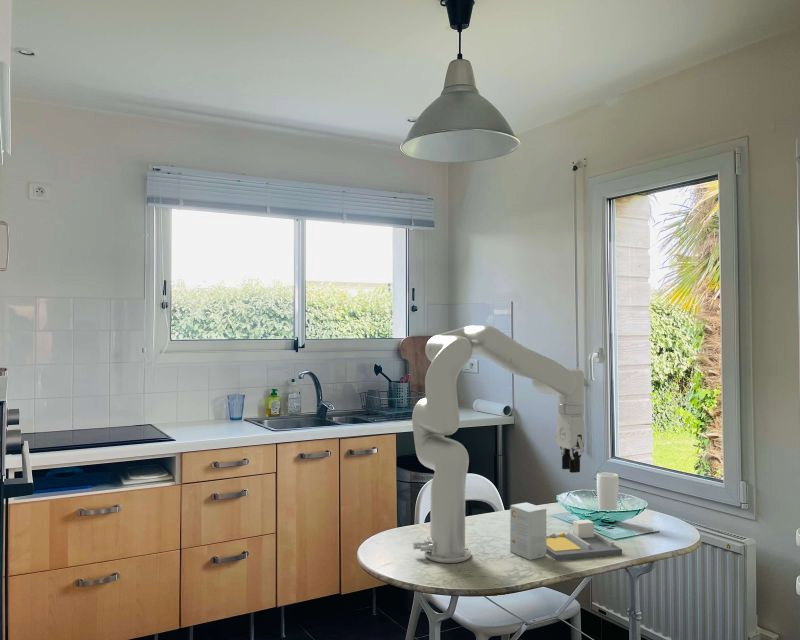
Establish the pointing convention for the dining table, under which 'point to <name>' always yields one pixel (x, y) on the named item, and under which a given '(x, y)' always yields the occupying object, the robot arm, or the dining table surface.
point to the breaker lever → (583, 528)
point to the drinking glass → (607, 490)
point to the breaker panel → (579, 546)
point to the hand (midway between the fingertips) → (570, 470)
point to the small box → (528, 530)
